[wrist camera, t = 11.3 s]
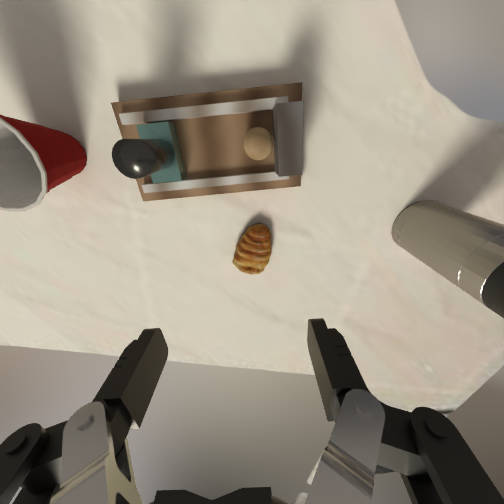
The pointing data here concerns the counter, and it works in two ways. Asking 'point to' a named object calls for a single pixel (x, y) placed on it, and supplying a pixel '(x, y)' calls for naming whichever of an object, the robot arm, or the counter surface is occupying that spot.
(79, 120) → the counter surface
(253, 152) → the walnut
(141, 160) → the jaw
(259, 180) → the base
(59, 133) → the plastic cup
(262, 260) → the pastry
